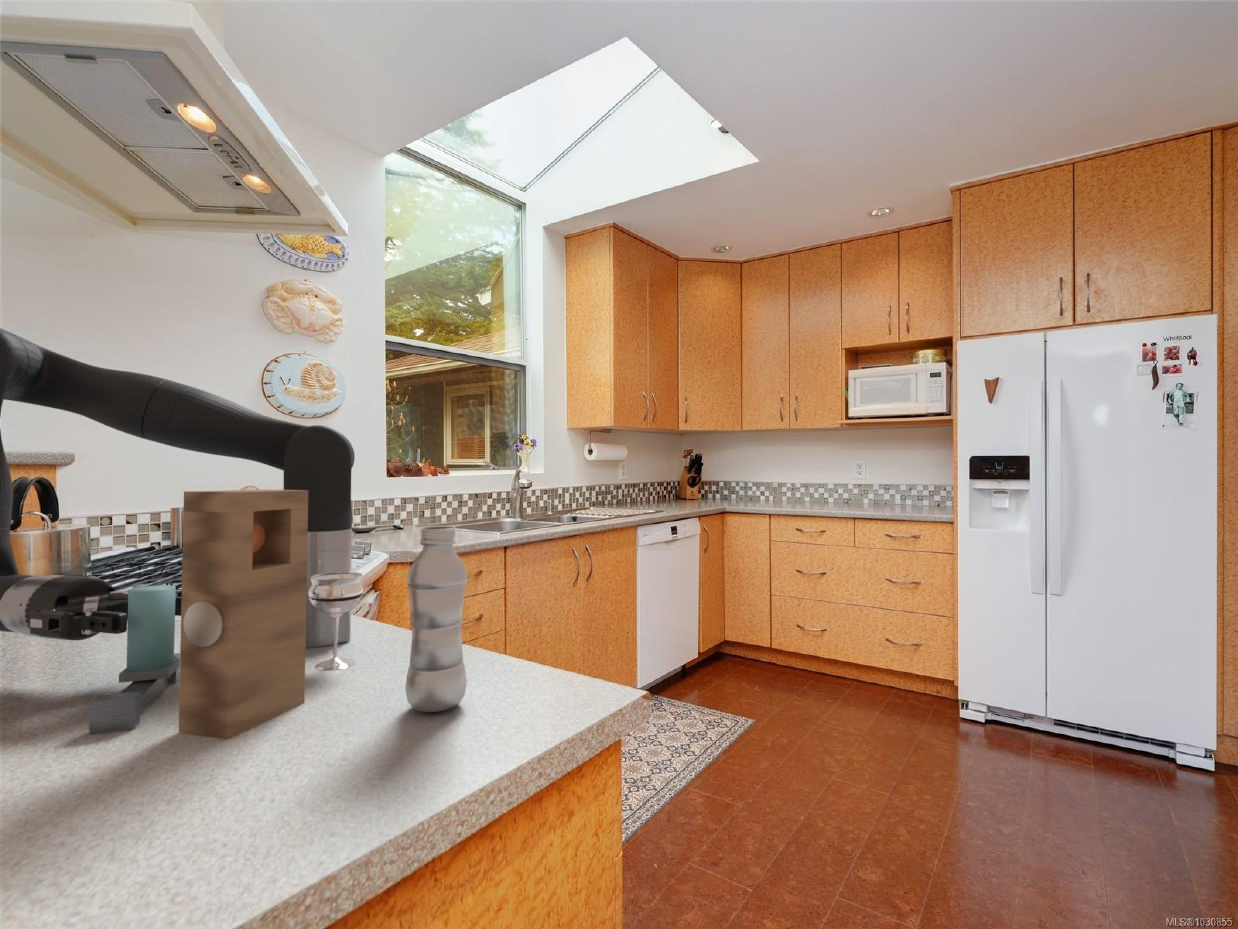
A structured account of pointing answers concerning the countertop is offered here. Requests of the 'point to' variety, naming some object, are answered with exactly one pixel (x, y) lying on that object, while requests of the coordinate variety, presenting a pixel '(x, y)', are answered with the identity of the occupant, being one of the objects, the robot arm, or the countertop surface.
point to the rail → (127, 704)
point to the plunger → (258, 536)
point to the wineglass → (335, 605)
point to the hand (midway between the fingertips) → (162, 615)
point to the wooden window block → (242, 609)
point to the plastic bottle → (436, 623)
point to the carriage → (150, 634)
